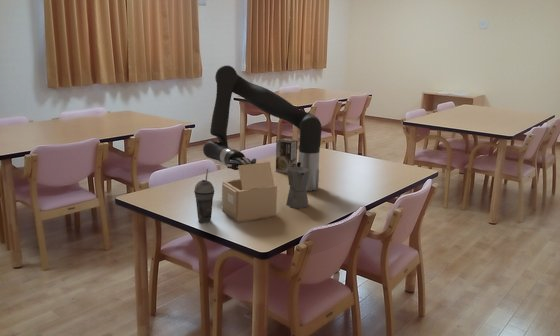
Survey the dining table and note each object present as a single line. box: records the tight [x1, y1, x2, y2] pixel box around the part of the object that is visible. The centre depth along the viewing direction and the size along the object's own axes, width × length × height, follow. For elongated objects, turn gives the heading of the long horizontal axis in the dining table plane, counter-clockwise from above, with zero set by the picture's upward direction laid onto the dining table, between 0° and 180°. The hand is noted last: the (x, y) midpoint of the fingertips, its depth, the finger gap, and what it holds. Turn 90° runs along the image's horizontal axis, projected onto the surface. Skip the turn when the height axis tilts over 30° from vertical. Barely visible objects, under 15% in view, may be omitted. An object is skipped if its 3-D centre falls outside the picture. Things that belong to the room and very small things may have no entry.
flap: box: [238, 161, 275, 190], centre depth 187 cm, size 1×13×9 cm, turn 121°
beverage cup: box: [193, 168, 215, 224], centre depth 184 cm, size 7×7×20 cm
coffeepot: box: [286, 161, 310, 209], centre depth 206 cm, size 15×9×18 cm, turn 13°
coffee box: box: [275, 138, 298, 174], centre depth 255 cm, size 9×6×16 cm
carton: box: [221, 178, 278, 224], centre depth 194 cm, size 15×18×12 cm
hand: (252, 168), depth 189 cm, fingers closed
